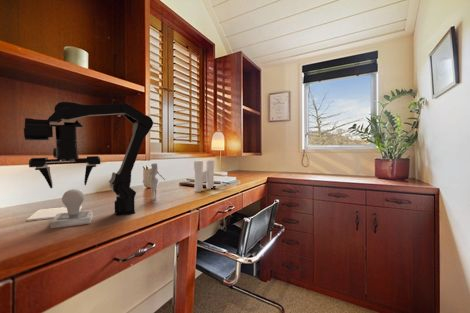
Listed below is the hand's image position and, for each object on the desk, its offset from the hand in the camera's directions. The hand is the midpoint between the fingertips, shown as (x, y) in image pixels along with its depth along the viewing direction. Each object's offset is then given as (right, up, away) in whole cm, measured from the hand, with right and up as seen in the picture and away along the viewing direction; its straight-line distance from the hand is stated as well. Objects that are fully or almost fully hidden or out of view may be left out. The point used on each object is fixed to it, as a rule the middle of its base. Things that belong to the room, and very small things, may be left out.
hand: (69, 186), depth 75 cm
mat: (-11, -12, +9) cm, 19 cm away
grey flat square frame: (+1, -12, 0) cm, 12 cm away
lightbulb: (+1, -12, 0) cm, 12 cm away
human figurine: (+17, -11, +33) cm, 38 cm away
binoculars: (+37, -11, +62) cm, 74 cm away
